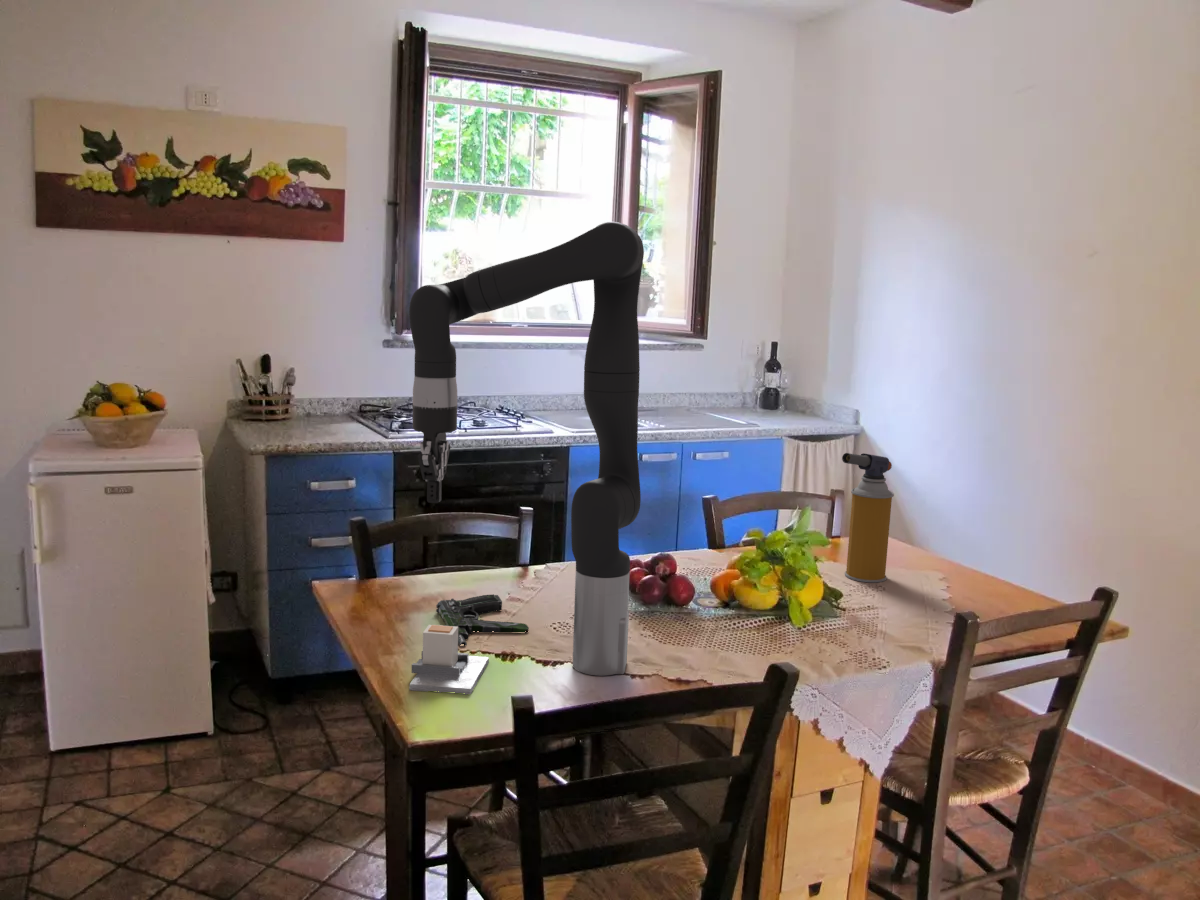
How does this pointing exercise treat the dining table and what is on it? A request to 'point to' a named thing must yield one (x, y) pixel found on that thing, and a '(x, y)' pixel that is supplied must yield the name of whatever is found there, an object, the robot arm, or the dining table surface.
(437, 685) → the rail panel
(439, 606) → the pistol
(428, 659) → the block
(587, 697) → the dining table surface
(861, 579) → the blowtorch
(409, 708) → the dining table surface
